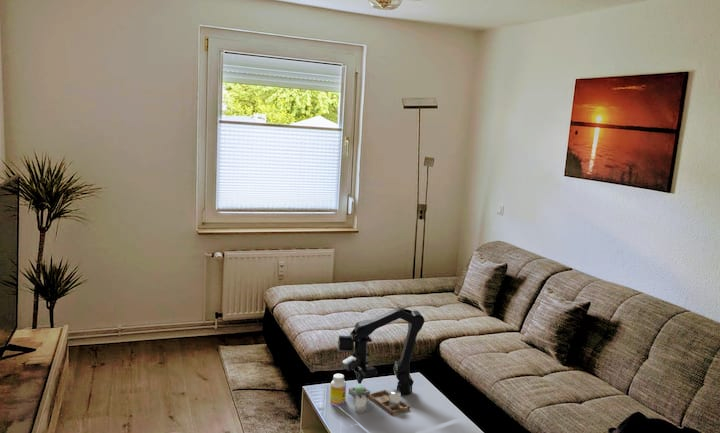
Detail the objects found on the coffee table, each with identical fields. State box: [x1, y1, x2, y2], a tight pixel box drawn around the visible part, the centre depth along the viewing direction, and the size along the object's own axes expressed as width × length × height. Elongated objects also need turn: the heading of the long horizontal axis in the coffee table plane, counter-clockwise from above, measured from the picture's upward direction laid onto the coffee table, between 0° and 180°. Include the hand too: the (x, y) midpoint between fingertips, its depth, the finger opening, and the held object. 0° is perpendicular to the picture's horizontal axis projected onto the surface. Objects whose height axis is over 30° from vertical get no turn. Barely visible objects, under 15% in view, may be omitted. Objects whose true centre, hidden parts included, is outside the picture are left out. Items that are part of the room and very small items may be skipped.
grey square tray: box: [348, 384, 371, 398], centre depth 256 cm, size 7×7×3 cm
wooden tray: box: [367, 389, 411, 416], centre depth 248 cm, size 9×18×3 cm, turn 34°
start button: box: [354, 385, 365, 393], centre depth 256 cm, size 4×4×3 cm
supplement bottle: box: [329, 373, 347, 407], centre depth 248 cm, size 7×7×13 cm
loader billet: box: [388, 389, 402, 410], centre depth 244 cm, size 5×5×7 cm
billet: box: [354, 395, 368, 414], centre depth 240 cm, size 5×5×7 cm
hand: (359, 383), depth 255 cm, fingers closed
